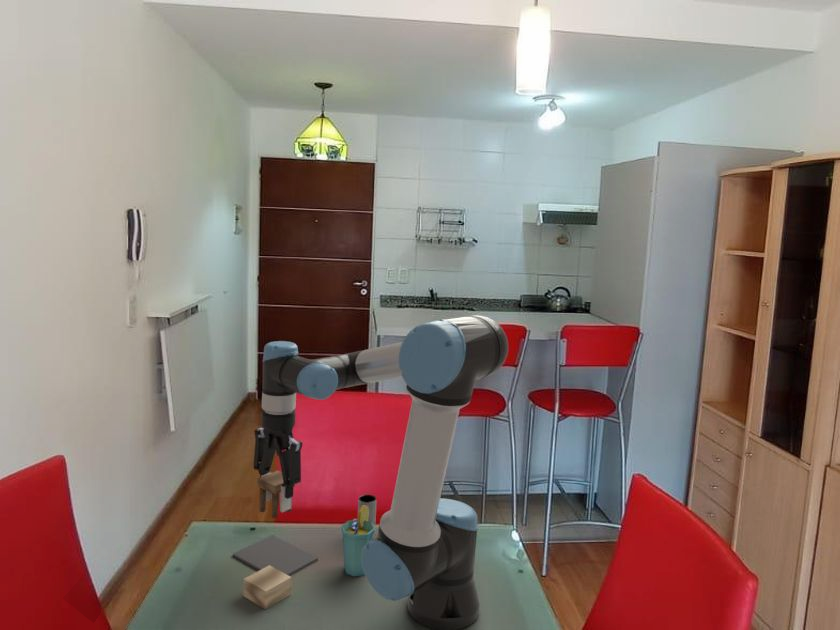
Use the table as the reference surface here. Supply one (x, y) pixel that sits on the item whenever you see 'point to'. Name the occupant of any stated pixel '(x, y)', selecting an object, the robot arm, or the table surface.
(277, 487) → the stool
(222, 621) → the table surface
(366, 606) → the table surface
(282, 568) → the mat
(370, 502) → the grey hollow cylinder
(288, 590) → the oak block
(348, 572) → the cup
